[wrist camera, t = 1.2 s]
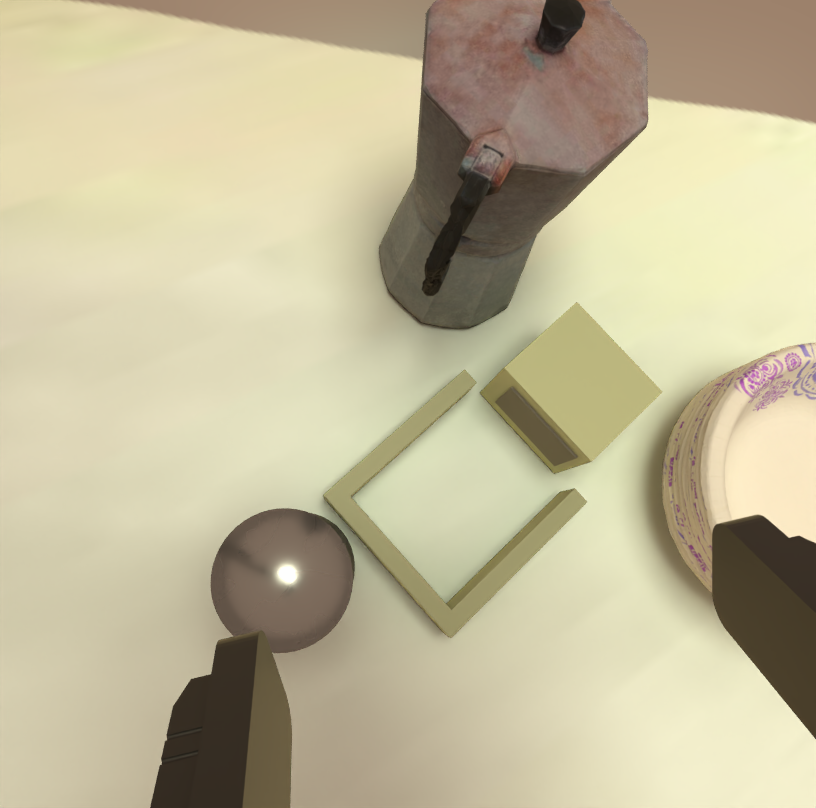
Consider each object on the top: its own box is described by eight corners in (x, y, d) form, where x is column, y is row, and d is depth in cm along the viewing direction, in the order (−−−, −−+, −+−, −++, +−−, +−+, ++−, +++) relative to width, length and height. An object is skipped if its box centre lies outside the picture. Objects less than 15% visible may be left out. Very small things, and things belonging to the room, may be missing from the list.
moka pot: (562, 195, 45) (739, -74, 25) (478, 410, 41) (609, 289, 22) (426, 137, 45) (499, -181, 25) (330, 348, 41) (329, 169, 22)
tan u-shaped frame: (443, 632, 38) (463, 648, 33) (323, 498, 39) (322, 489, 33) (639, 437, 42) (689, 420, 36) (526, 317, 43) (557, 281, 37)
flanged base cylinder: (293, 648, 37) (272, 706, 24) (221, 564, 38) (160, 574, 24) (376, 570, 39) (400, 583, 25) (305, 490, 39) (291, 461, 26)
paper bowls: (677, 654, 40) (761, 680, 32) (608, 399, 42) (670, 367, 35) (907, 594, 42) (1038, 605, 34) (828, 356, 45) (932, 316, 37)
